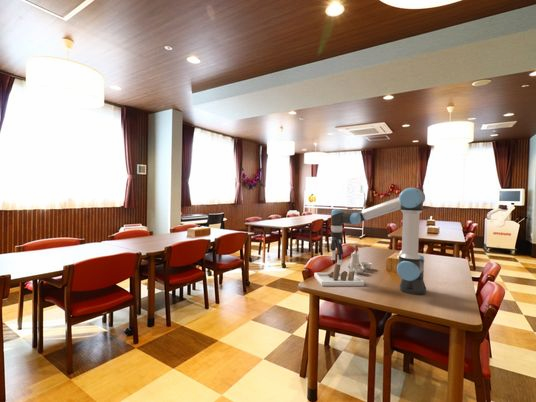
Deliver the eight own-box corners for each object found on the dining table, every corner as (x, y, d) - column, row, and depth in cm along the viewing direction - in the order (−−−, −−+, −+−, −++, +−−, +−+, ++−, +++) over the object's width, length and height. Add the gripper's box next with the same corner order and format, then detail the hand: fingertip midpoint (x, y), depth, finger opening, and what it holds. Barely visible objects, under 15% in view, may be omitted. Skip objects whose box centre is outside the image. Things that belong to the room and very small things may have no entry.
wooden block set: (353, 284, 186) (356, 269, 189) (350, 282, 179) (353, 267, 182) (328, 278, 196) (331, 264, 199) (324, 276, 189) (327, 261, 192)
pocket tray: (364, 286, 179) (364, 281, 179) (321, 286, 177) (321, 281, 177) (352, 276, 200) (352, 272, 199) (314, 276, 198) (314, 272, 198)
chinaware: (363, 279, 200) (366, 257, 199) (341, 272, 210) (344, 251, 208) (372, 270, 224) (375, 251, 222) (352, 265, 233) (355, 246, 232)
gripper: (326, 229, 201) (326, 258, 201) (337, 233, 176) (336, 266, 176) (336, 229, 201) (336, 258, 202) (348, 233, 176) (348, 266, 177)
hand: (336, 262), depth 189 cm, fingers open, 13 cm apart
